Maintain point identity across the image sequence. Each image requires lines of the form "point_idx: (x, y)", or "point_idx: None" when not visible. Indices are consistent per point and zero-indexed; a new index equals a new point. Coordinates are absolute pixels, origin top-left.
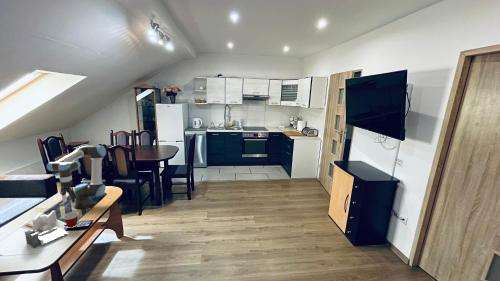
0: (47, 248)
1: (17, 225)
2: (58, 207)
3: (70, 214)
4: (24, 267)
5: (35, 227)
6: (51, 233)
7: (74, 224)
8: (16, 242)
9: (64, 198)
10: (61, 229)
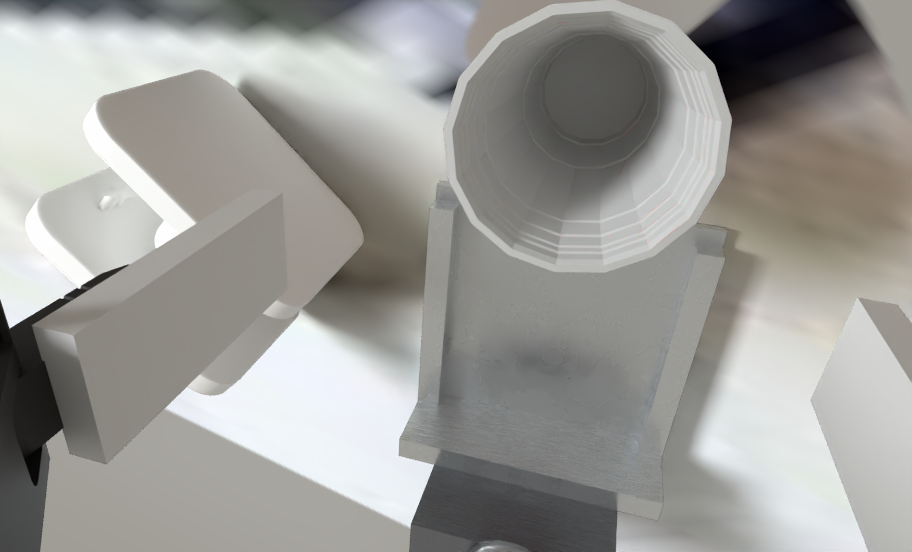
0: (748, 463)
1: (28, 276)
2: None
3: (481, 89)
4: None
5: (279, 335)
6: (502, 292)
7: (662, 108)
8: (356, 447)
9: (203, 315)
10: None
